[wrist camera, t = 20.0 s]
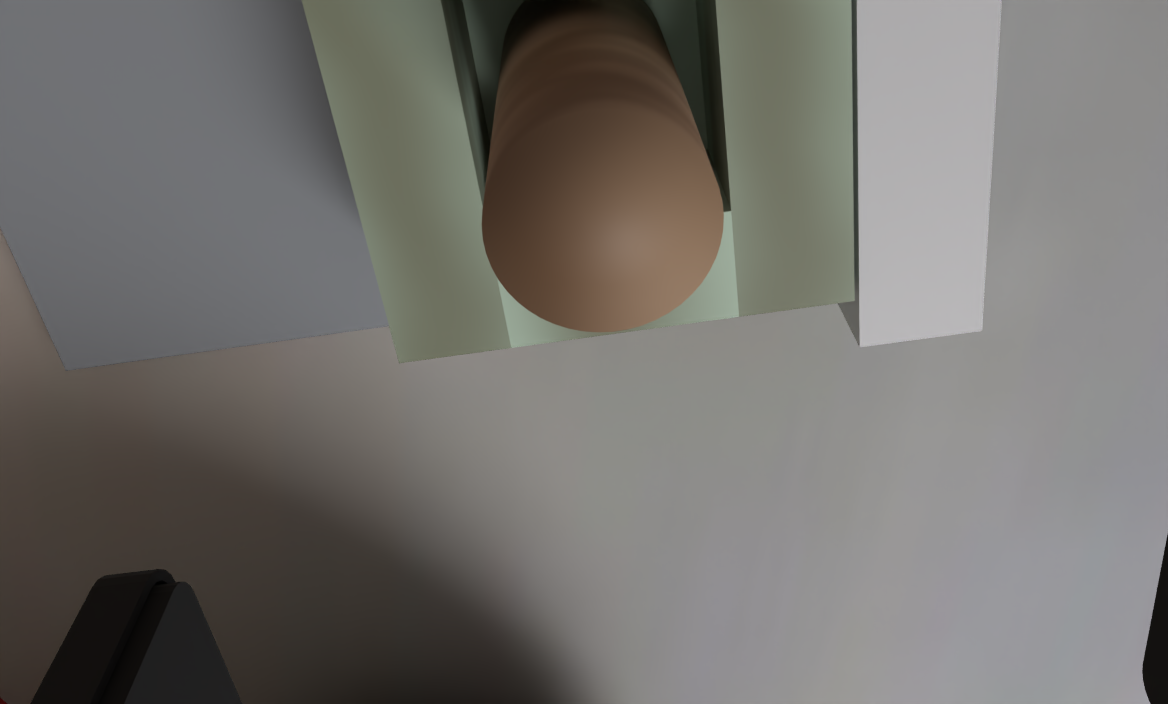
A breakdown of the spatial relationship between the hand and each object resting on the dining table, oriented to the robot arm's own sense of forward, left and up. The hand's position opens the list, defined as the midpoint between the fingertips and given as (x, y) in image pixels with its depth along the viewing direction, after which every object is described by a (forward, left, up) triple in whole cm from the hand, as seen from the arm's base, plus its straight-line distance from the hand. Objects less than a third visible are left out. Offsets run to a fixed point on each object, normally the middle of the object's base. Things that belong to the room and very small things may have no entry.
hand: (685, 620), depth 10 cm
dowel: (0, 0, -19) cm, 19 cm away
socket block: (0, 0, -20) cm, 20 cm away
